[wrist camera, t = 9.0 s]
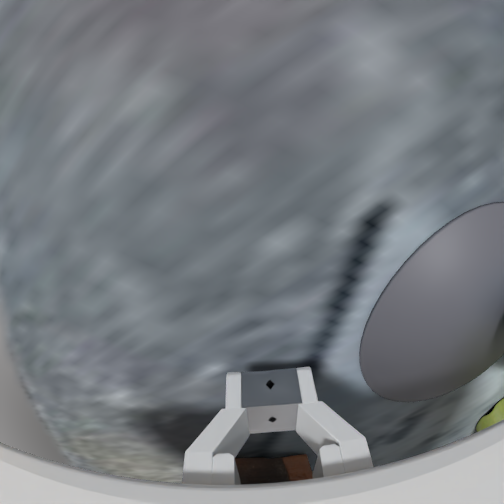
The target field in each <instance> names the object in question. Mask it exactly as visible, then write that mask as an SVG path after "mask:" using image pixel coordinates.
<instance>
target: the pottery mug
mask: <svg viewBox="0 0 504 504" xmlns="http://www.w3.org/2000/svg"><path fill="white" fill-rule="evenodd" d="M235 462H236V466H237V470H238V473H239V477H240V482H241V485H244V484H265V483H278V482H289V481H298V480H306V479H313V477H312V470H311V467H310V464H309V461H308V457H307V455H306V454H303V455H295V456H293V455H292V456H287V457H281V458H265V457H251V458H235Z"/></svg>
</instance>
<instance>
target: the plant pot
mask: <svg viewBox="0 0 504 504" xmlns="http://www.w3.org/2000/svg"><path fill="white" fill-rule="evenodd" d="M502 420H504V398H503V399H501V400H500V401H499V402H498V403H497V404H496V405H495V407H494V409H493V410H492V412H491V413H490V414H488V415H485V416H483V417H482V418H481V419H480V421H479V423H478V424H477V427H476V430H477V432H479V431H481V430H483V429H485V428H487V427H489V426H492V425H494V424H496V423H498V422H500V421H502Z"/></svg>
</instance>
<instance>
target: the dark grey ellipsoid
mask: <svg viewBox="0 0 504 504" xmlns="http://www.w3.org/2000/svg"><path fill="white" fill-rule="evenodd" d="M359 354H360V367H361V371H362V374H363V377H364V379H365V381H366V383H367V385H368V386H369V387H370V388H371V389H372V391H374V392H375V393H377V394H378V395H379V396H382V397H384V398H386V399H389V400H393V401H400V402H415V401H422V400H427V399H431V398H435V397H438V396H441V395H444V394H446V393H449V392H451V391H453V390H455V389H457V388H459V387H461V386H463V385H465V384H467V383H468V382H470V381H471V380H473V379H475V378H476V377H477V376H479V375H480V374H482V373H483V372H484V371H486V370H487V369H488V368H489V367H490V366H492V365H493V364H494V363H495V362H496V361H497V360H498V359H499V358H500V357H501V356H502V355H503V354H504V202H497V203H490V204H486V205H482V206H479V207H477V208H474V209H472V210H470V211H467V212H465V213H463V214H462V215H460V216H458V217H457V218H455V219H453V220H452V221H450V222H449V223H447V224H446V225H445V226H443V227H442V228H441V229H439V230H438V231H436V232H435V233H434V234H433V235H432V236H431V237H430V238H428V239H427V240H426V241H425V242H424V243H423V244H422V245H421V246H419V248H418V249H417V250H416V251H415V252H414V253H413V254H412V255H411V256H410V257H409V258H408V259H407V260H406V261H405V262H404V264H403V265H402V266H401V267H400V269H399V270H398V271H397V272H396V274H395V275H394V276H393V277H392V279H391V280H390V282H389V283H388V285H387V286H386V288H385V289H384V291H383V292H382V294H381V295H380V297H379V299H378V301H377V302H376V304H375V306H374V308H373V310H372V312H371V314H370V316H369V319H368V321H367V323H366V326H365V329H364V332H363V336H362V339H361V345H360V352H359Z"/></svg>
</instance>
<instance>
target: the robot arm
mask: <svg viewBox="0 0 504 504" xmlns="http://www.w3.org/2000/svg"><path fill="white" fill-rule="evenodd" d="M292 430H296V432H297V433H298V434H299V436H300V437H301V438H302V439H303V440H304V441H305V442H306V444H307V445H308V446H309V447H310V448H311V449H312V450H313V451H314V452H315V454H316V455H317V460H316V463H315V467H314V470H313V473H312V477H313V479H306V480H298V481H289V482H278V483H265V484H244V485H241V482H240V477H239V473H238V470H237V466H236V462H235V457H236V456H237V454H238V453H239V451H240V450H241V448H242V446H243V445H244V443H245V442H246V440H247V439H248V437H249V435H250V434H253V433H265V432H278V431H292ZM0 504H504V420H502V421H500V422H498V423H496V424H494V425H492V426H489V427H487V428H485V429H483V430H481V431H479V432H476V433H474V434H472V435H469V436H467V437H465V438H462V439H460V440H457V441H455V442H452V443H450V444H447V445H445V446H442V447H439V448H436V449H434V450H431V451H428V452H425V453H422V454H419V455H416V456H412V457H409V458H406V459H402V460H399V461H395V462H392V463H388V464H384V465H380V466H376V467H374V466H373V463H372V459H371V455H370V452H369V448H368V445H367V441H366V438H365V437H364V436H363V435H362V434H361V433H359V432H358V431H357V430H356V429H355V428H353V427H352V426H351V425H350V424H349V423H347V422H346V421H345V420H344V419H343V418H341V417H340V416H339V415H338V414H337V413H336V412H334V411H333V410H332V409H331V408H330V407H329V406H327V405H326V404H325V403H324V402H323V401H318V398H317V393H316V389H315V384H314V380H313V375H312V371H311V368H310V367H301V368H289V369H278V370H269V371H253V372H227V376H226V406H225V409H221V410H220V411H219V412H218V414H217V415H216V416H215V417H214V418H213V420H212V421H211V422H210V423H209V424H208V426H207V427H206V428H205V429H204V430H203V432H202V433H201V434H200V435H199V436H198V438H197V439H196V440H195V441H194V442H193V443H192V445H191V446H190V447H189V448H188V449H187V450H186V451H185V458H184V468H183V478H182V483H170V482H159V481H150V480H142V479H135V478H128V477H122V476H116V475H110V474H105V473H100V472H95V471H91V470H86V469H82V468H78V467H74V466H70V465H66V464H62V463H59V462H55V461H52V460H48V459H45V458H42V457H39V456H36V455H33V454H30V453H27V452H24V451H21V450H18V449H16V448H13V447H10V446H8V445H5V444H3V443H1V442H0Z"/></svg>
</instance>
